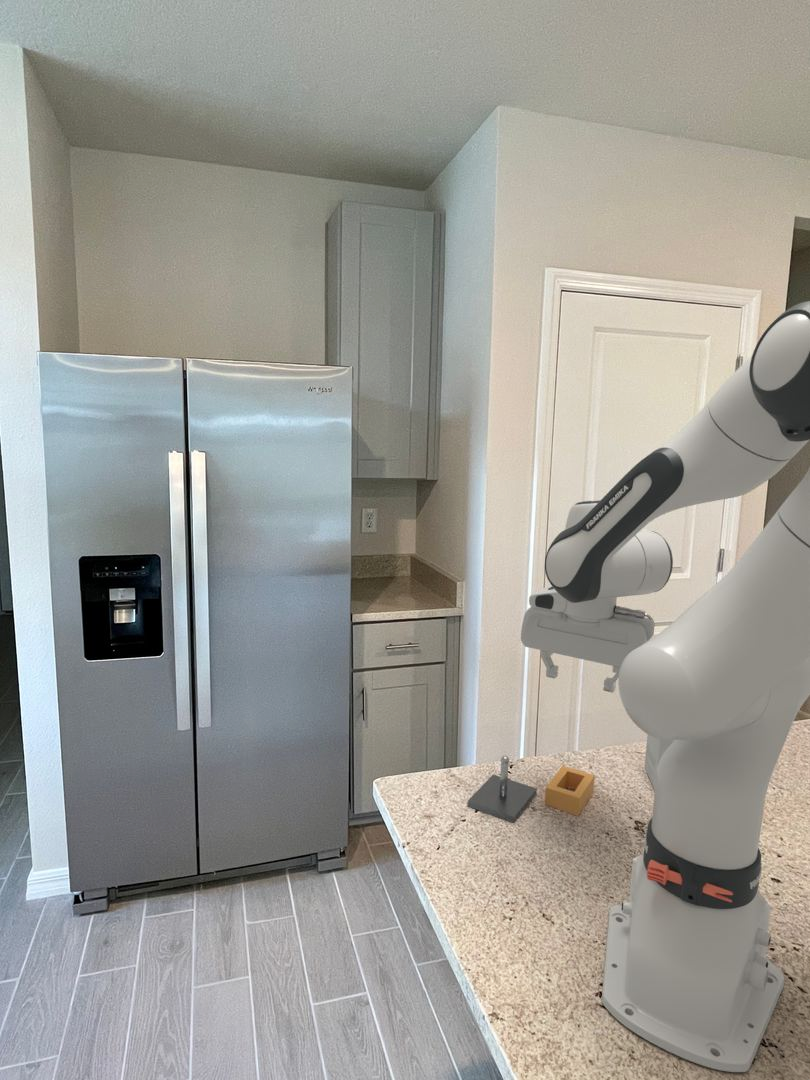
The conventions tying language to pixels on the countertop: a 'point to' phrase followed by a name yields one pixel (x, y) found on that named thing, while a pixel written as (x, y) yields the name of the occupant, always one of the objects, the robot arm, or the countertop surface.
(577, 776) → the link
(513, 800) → the keeper post
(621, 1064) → the countertop surface
